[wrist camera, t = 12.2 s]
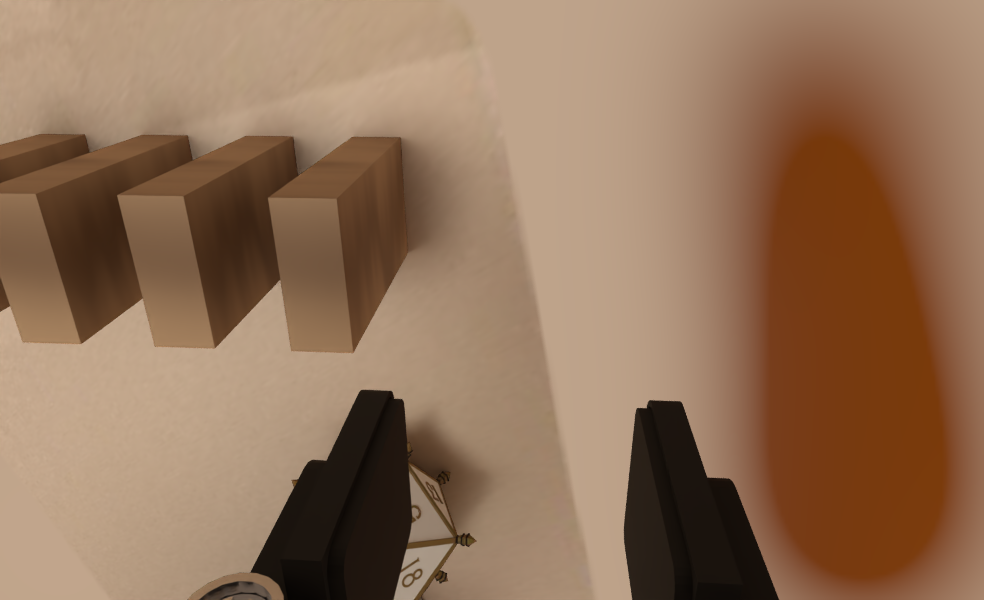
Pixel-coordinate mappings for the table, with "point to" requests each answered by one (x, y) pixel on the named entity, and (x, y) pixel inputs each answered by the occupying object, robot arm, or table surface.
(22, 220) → the domino
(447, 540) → the game die
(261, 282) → the domino
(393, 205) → the domino
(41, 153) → the domino
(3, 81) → the table surface
